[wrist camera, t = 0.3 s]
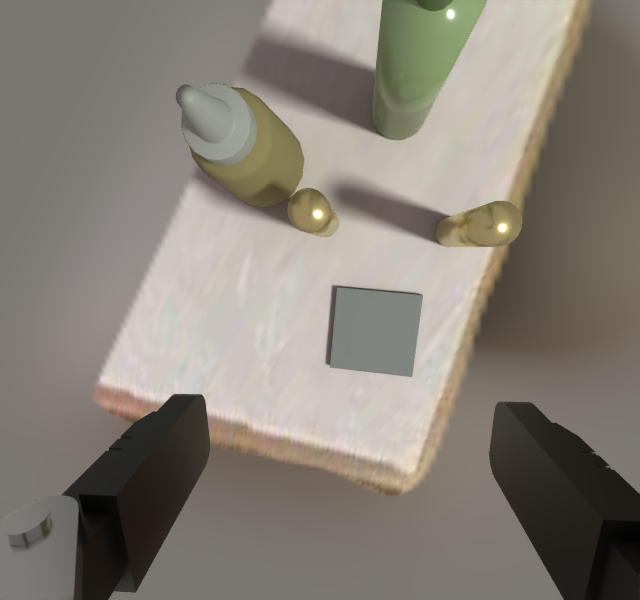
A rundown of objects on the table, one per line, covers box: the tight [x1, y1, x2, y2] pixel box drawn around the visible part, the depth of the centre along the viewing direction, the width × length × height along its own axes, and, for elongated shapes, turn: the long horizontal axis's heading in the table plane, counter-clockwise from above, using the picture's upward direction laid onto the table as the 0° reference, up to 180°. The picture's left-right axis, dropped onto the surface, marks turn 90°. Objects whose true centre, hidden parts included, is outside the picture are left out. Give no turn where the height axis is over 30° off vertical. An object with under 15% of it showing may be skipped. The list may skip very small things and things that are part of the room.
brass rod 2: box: [435, 201, 522, 247], centre depth 28 cm, size 3×3×12 cm
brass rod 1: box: [287, 188, 338, 237], centre depth 30 cm, size 3×3×12 cm
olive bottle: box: [371, 0, 487, 140], centre depth 23 cm, size 5×5×22 cm
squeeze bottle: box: [176, 83, 304, 207], centre depth 27 cm, size 8×8×18 cm
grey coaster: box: [330, 287, 423, 377], centre depth 36 cm, size 9×9×1 cm
